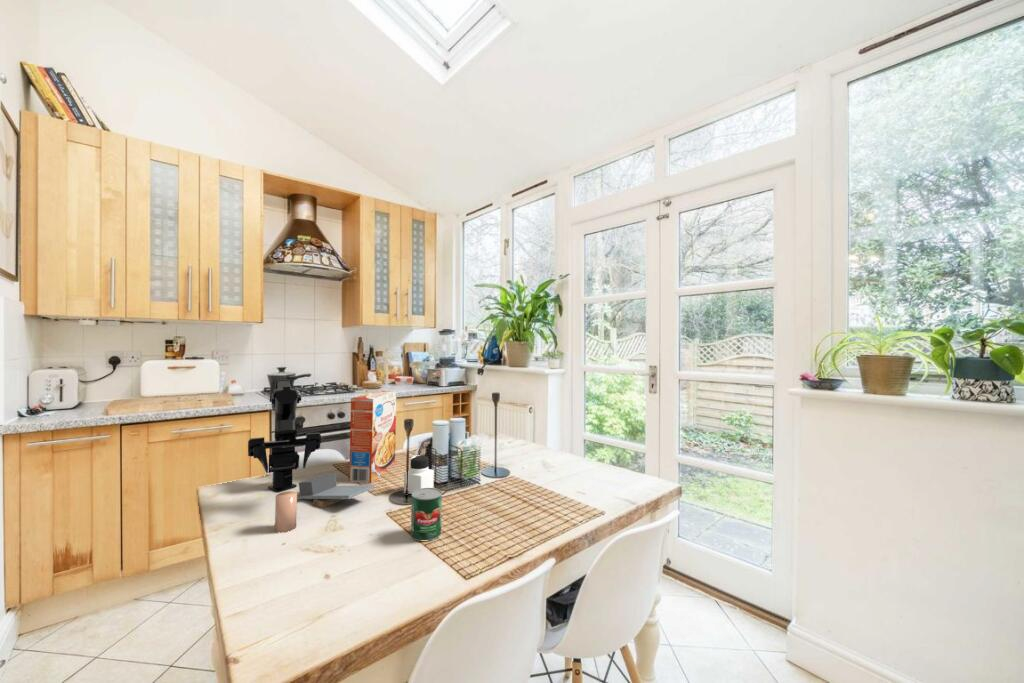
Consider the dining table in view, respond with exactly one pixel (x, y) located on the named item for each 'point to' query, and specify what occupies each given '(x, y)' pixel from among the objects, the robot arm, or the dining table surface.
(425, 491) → the canned tomato
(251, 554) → the dining table surface
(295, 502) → the peach bullet knob
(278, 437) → the robot arm
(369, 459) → the pasta box
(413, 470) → the medicine bottle
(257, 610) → the dining table surface
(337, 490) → the balance plank
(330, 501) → the walnut fulcrum
